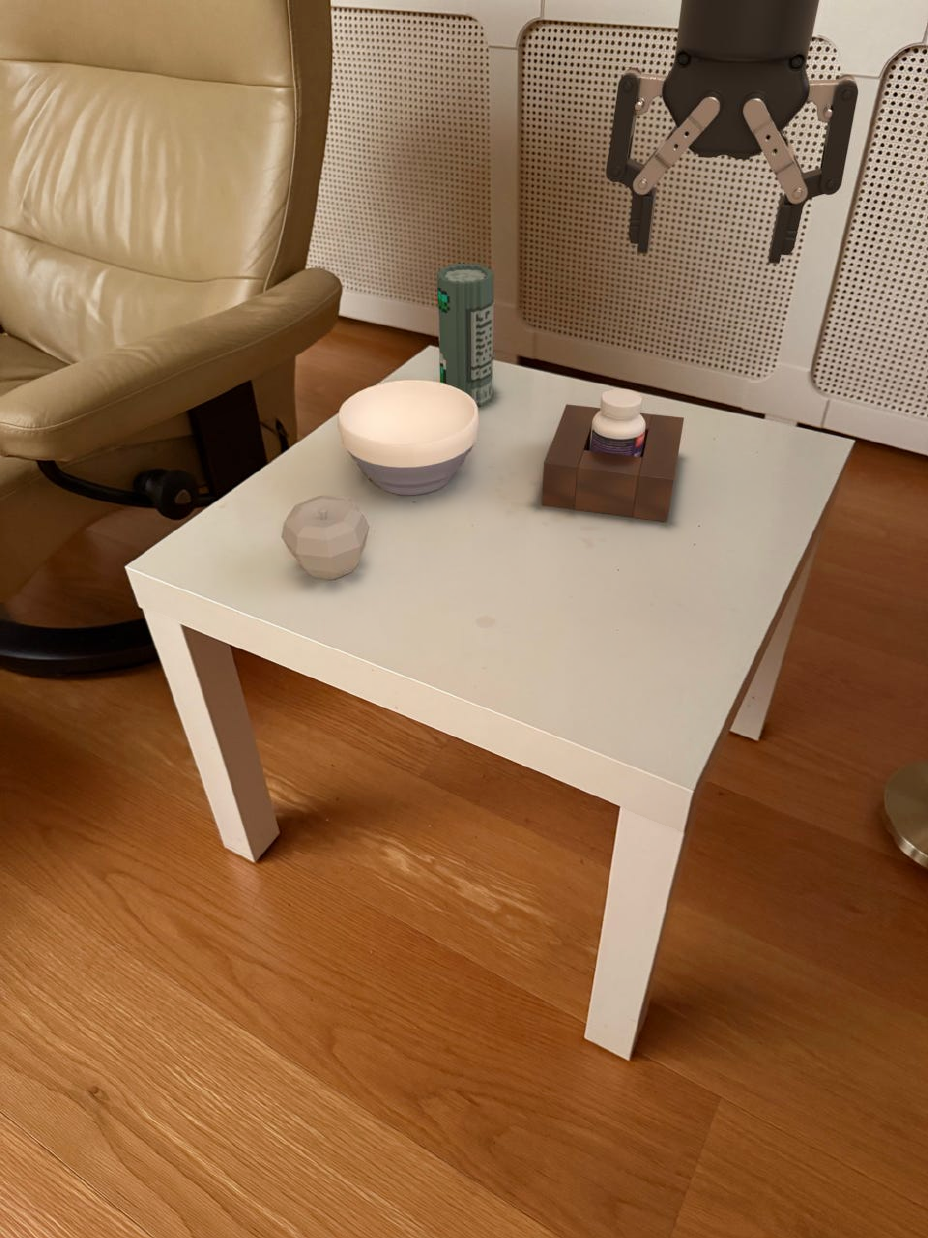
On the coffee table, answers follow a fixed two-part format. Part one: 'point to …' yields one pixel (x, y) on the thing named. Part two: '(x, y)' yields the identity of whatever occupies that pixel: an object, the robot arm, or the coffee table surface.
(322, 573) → the apple
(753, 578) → the coffee table surface
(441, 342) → the can
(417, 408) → the bowl
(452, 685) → the coffee table surface
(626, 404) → the pill bottle
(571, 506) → the socket pad
